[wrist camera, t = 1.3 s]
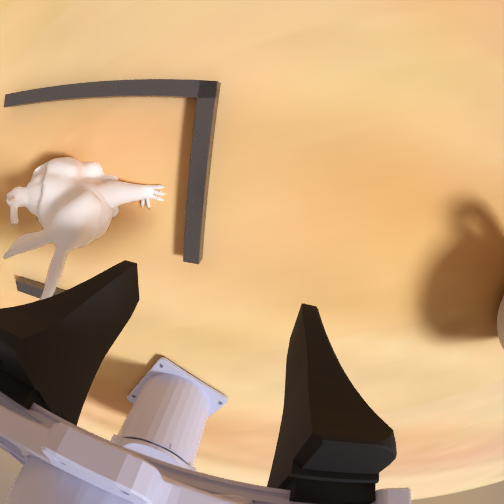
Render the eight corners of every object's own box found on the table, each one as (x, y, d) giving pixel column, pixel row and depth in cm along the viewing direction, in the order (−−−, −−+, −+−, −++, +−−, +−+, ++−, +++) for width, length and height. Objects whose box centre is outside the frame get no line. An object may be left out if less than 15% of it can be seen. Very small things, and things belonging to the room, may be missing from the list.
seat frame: (197, 333, 27) (194, 340, 26) (23, 286, 28) (17, 290, 28) (220, 83, 20) (217, 81, 19) (12, 94, 21) (5, 94, 20)
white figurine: (169, 187, 23) (97, 227, 14) (145, 271, 26) (83, 338, 17) (52, 141, 22) (-33, 160, 14) (40, 218, 25) (-34, 258, 17)
